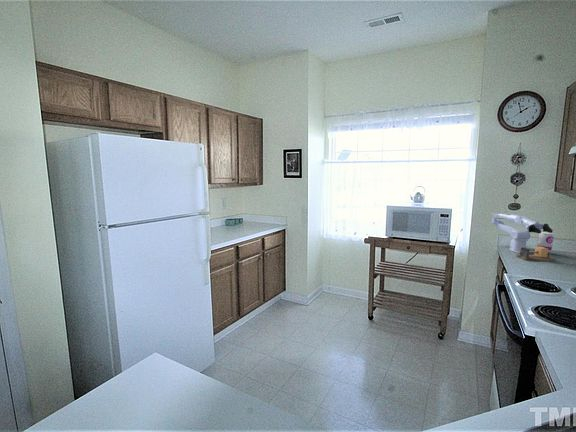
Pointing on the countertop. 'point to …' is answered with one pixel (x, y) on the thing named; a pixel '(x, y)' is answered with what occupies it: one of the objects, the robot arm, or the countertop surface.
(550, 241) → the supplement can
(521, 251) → the rail stand
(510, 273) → the countertop surface
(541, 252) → the sleeve
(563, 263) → the countertop surface
